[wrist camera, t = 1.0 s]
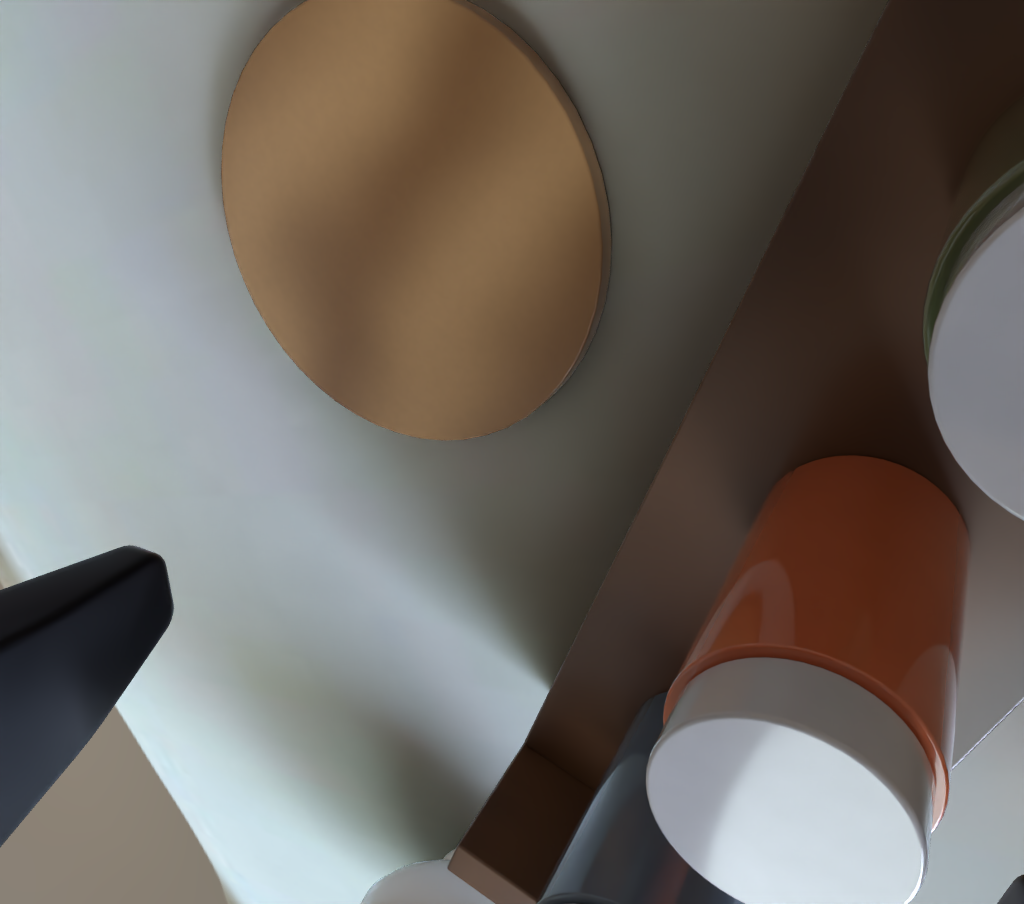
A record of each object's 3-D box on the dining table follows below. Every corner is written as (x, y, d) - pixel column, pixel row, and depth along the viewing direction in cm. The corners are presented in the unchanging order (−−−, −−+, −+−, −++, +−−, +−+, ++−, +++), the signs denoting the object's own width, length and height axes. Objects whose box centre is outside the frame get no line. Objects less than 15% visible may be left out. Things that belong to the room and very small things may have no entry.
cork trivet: (688, 94, 17) (679, 97, 17) (530, 501, 24) (520, 512, 23) (258, -91, 20) (240, -92, 19) (220, 321, 26) (206, 327, 26)
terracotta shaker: (1018, 522, 15) (1013, 836, 9) (899, 661, 17) (841, 982, 12) (812, 418, 16) (701, 651, 10) (725, 563, 18) (595, 817, 13)
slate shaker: (821, 753, 19) (740, 1067, 14) (747, 842, 21) (650, 1142, 16) (667, 660, 20) (531, 919, 14) (610, 754, 22) (474, 1009, 17)
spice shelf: (1652, -66, 11) (2180, -100, 6) (797, 853, 25) (739, 1080, 20) (1031, -248, 13) (1035, -391, 8) (556, 699, 27) (445, 869, 21)
